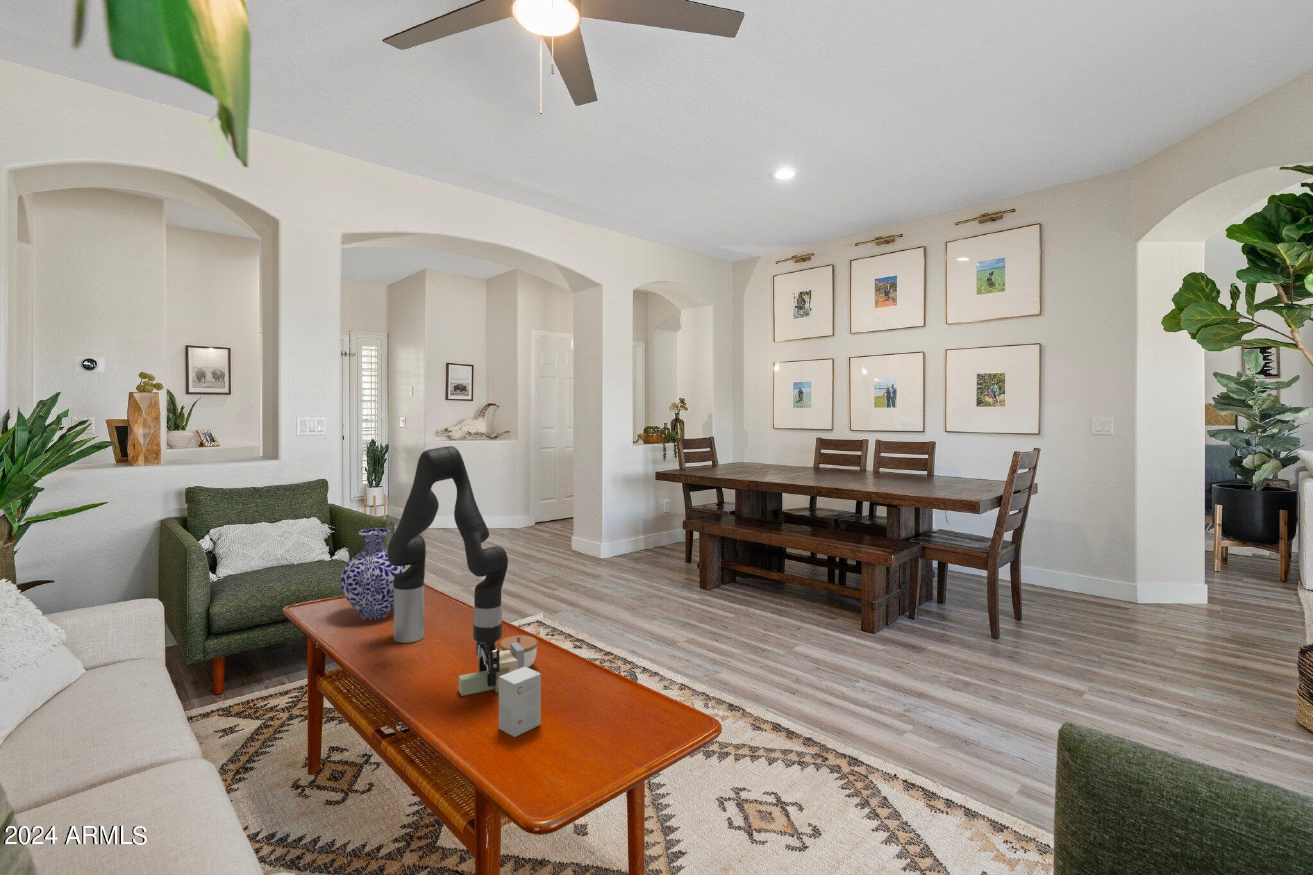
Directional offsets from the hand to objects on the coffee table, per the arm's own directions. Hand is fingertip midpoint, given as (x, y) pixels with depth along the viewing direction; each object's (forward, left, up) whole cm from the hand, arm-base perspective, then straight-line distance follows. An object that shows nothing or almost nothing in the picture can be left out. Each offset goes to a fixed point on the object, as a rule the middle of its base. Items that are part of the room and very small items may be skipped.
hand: (487, 679), depth 179 cm
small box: (+24, +1, -3) cm, 24 cm away
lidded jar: (-8, +11, -3) cm, 14 cm away
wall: (0, +8, -2) cm, 8 cm away
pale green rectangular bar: (0, -1, -3) cm, 3 cm away
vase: (-73, -20, -3) cm, 76 cm away
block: (0, +4, -2) cm, 5 cm away
